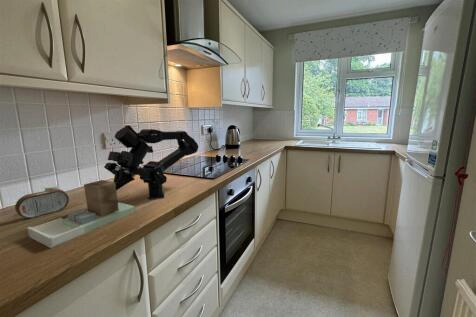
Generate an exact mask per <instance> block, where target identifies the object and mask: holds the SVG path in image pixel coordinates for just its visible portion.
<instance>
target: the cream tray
mask: <svg viewBox="0 0 476 317" xmlns="http://www.w3.org/2000/svg"><path fill="white" fill-rule="evenodd" d="M62 219H63V218H62V217H59V218H56V219H53V220H51V221H48V222H44V223H41V224H39V225H35V226H32V227H31V226H28V227H27V232H28V237H29V238H30V239H33V240H34V241H36V242H38V243H40V244H42V245H44V246H46V247H48V248H50V249H53V248H54V247H57V246H59V245H62V244H64V243H67V242H69V241H71V240H74V239H76V238H78V237H80V236H83V235H85V234H86V233H84V226H80V227H78V228H75V229H73V228H71V227H68V226H66V225H63V221H62Z"/></svg>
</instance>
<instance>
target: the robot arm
mask: <svg viewBox="0 0 476 317" xmlns="http://www.w3.org/2000/svg"><path fill="white" fill-rule="evenodd" d="M114 134H115V135H114V138H115V139H116V140H117V141H118V142H119V143H120V144H121V145H122V146H124V147H125V148H127V149H130V148H131V149H130V150H129V151H126V150H121V151H120V152H119V151H111V150H110V151H109V154H108V157H107V161H109V162H106V164H105V165H104V166H103V168H104V169H105V170H107V171H108V172H110V173H111V174H112V175H114V178H113V181H112V182H114V183H115V185H116V191H118V190H119V189H121V188H123V187H124V186H126V185H127V184H129V183H131V182H132V181H135V180H136V179H135V177H136V176H139V179H140V180H141V181H143V183H146V184H147V185H148V196H147V200H155V199H162V198H163V199H164V198H165V192H164V188H163V184H165V183H167V179H168V178H167V176H166V175H165V172H166V170H167V169H169V168H170V167H172V166H174V164H176V163H177V162H179V161H180V160H181V159H183V158H185V157H186V156H190V155H193V154H195V153H197V152H198V150H199V145H198V143H197V141H196V140H195V139H194V138H193V137H192V136H190V135H189V134H188V132H187V131H185V130H175V131H174V130H173V131H172V130H171V131H162V130H159V129H154V128H153V129H152V128H149V129H148V128H143V129H140V131H139V132H136V131H135V130H134V128H133V127H132V126H131V125H130V124H129V125H128V124H127V125H124V127H121V128H120V129H119V130H118V131H116V133H114ZM171 140H173V141H174V140H176V141H177V142H176V143H177V145H178V148H177V149H175V150H174V151H173V152H171V153H169V154H168V155H166V156H164V157H163V158H162V159H159V161H154V160H153V161H152V160H150V161H148V162H147V163H146V164H144V163H145V162H144V161H143V160H144V159H145V157H146V155H147V154H149V153H151V154H153V153H154V149H153V146H152V145H148V144H158V143H161V142H162V141H171ZM111 161H112V162H111ZM141 165H142V166H141Z"/></svg>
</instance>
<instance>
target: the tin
mask: <svg viewBox="0 0 476 317" xmlns="http://www.w3.org/2000/svg"><path fill="white" fill-rule="evenodd" d="M69 201H70V198H69V195H68V194H67V193H66V192H65V191H64V190H63V189H60V188H58V189H52V190H48V191H45V190H43V191H37V192H33V193H28V194H24V195H23V196H21V197H20V198H18V200H16V203H15V205H14V208H15V212H16V213H17V214H18V215H19V216H20V217H22V218H24V219H34V218H38V217H42V216H46V215H50V214H54V213H58V212H60V211H63V210H64V209H65V208H66V207H67V206H68V204H69Z"/></svg>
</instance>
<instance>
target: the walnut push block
mask: <svg viewBox="0 0 476 317" xmlns="http://www.w3.org/2000/svg"><path fill="white" fill-rule="evenodd" d="M83 188H84V195H85V201H86V208H87V211H89V212H92V213H95V215H97V216H100V217H103V216H106V215H108V214H111V213H113V212H116V211H118V210H119V208H118V202H119V201H118V200H119V199H118V195H117V194H118V193H117V190H116V185H115V183H114V182H113V181H110V180H109V181H108V180H104V179H101V180H96V181H93V182H89V183H88V182H87V183H85V184H83Z"/></svg>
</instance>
